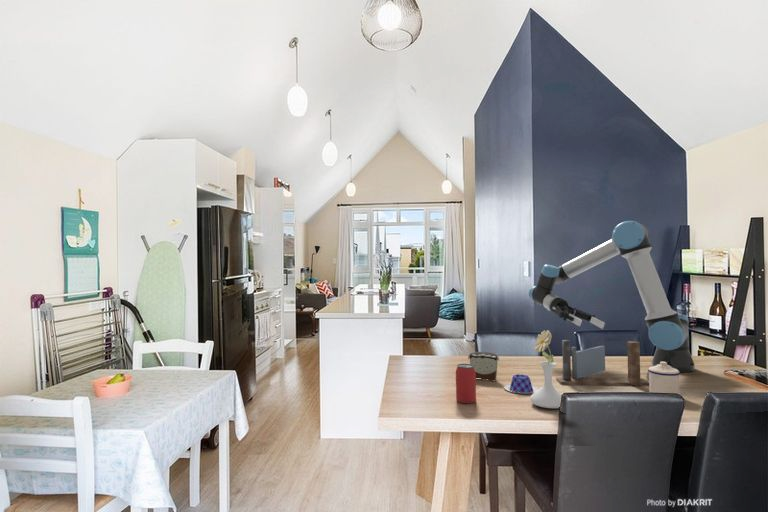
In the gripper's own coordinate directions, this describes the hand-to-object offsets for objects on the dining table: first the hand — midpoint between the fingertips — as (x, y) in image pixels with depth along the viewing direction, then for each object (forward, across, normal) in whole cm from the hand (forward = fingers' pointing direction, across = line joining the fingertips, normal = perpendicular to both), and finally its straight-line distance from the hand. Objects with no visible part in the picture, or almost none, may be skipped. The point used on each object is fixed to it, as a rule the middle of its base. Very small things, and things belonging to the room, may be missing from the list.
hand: (592, 324), depth 176 cm
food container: (-6, +40, -30) cm, 51 cm away
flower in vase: (+29, +43, -19) cm, 56 cm away
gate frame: (+18, +6, -16) cm, 25 cm away
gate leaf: (+11, +5, -17) cm, 21 cm away
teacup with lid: (+36, +2, -10) cm, 37 cm away
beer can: (+14, +64, -27) cm, 71 cm away
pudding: (+12, +38, -24) cm, 47 cm away
